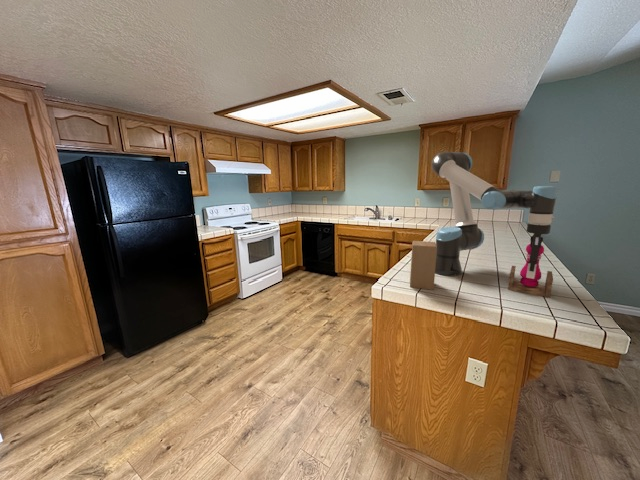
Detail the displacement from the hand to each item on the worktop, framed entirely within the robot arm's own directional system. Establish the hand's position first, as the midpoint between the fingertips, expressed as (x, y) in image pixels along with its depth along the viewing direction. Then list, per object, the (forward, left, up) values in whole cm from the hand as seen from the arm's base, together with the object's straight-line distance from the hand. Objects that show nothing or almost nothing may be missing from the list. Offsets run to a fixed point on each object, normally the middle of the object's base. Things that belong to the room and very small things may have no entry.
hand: (530, 275), depth 112 cm
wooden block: (-39, -23, -7) cm, 46 cm away
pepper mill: (0, 0, -4) cm, 4 cm away
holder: (0, 0, -6) cm, 6 cm away
